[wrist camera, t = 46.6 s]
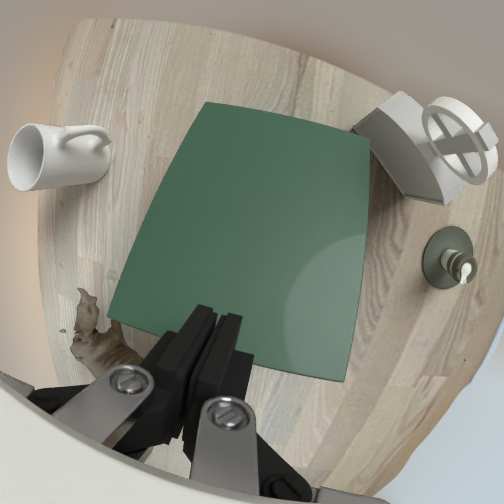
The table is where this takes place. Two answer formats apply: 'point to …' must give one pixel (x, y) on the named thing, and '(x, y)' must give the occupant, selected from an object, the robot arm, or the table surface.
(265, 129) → the bin lid
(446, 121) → the gravestone
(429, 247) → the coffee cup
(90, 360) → the rhinoceros figurine
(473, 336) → the table surface
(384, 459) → the table surface
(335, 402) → the table surface
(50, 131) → the mug
